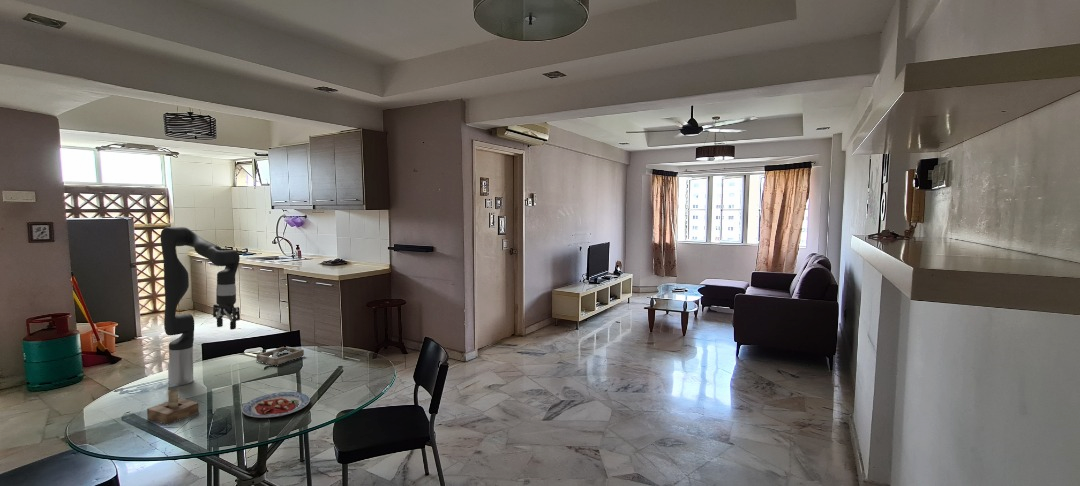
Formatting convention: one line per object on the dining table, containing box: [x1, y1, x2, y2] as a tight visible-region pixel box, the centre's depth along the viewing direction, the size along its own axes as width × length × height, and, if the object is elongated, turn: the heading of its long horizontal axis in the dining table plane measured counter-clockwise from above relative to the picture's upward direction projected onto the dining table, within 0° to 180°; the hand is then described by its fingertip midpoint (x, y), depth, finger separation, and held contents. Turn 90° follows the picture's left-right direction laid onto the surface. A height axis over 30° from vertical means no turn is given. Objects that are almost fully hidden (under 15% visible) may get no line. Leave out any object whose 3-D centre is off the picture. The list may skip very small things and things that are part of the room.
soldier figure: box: [272, 350, 279, 358], centre depth 259 cm, size 8×5×12 cm
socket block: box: [146, 397, 200, 425], centre depth 189 cm, size 12×12×4 cm
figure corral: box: [256, 346, 305, 367], centre depth 261 cm, size 14×18×4 cm
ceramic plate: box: [241, 391, 311, 418], centre depth 201 cm, size 26×26×3 cm
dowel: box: [167, 384, 179, 409], centre depth 189 cm, size 3×3×12 cm
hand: (226, 328), depth 214 cm, fingers open, 8 cm apart
